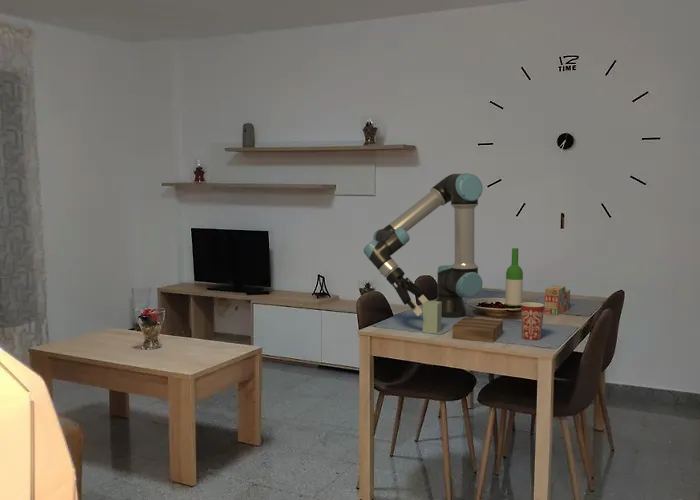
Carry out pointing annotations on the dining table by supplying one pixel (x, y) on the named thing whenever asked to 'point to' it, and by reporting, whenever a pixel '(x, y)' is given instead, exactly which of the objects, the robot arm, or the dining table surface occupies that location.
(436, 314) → the green block
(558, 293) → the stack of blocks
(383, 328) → the dining table surface
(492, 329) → the walnut riser
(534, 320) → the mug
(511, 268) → the wine bottle
